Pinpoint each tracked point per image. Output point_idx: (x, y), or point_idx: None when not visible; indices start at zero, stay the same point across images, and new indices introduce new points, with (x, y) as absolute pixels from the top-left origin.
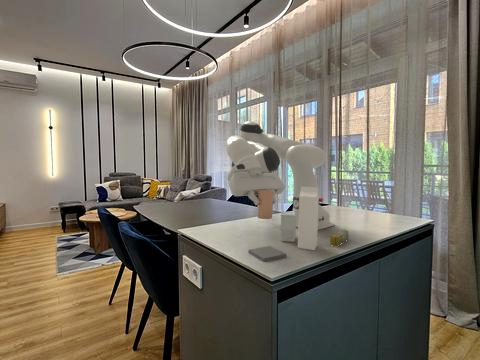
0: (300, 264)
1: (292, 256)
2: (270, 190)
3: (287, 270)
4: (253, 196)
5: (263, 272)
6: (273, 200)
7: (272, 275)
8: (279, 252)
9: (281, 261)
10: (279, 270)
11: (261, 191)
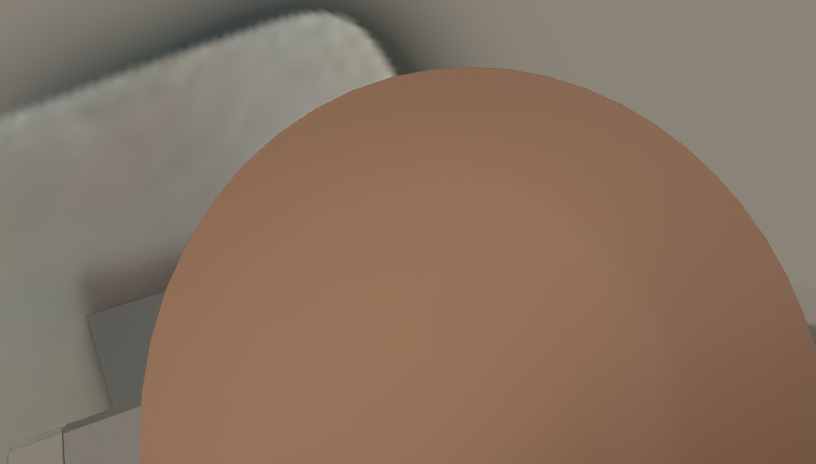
0: (47, 138)
1: (23, 322)
2: (264, 405)
3: (207, 62)
4: (807, 301)
5: (381, 71)
6: (138, 406)
7: (337, 20)
8: (143, 359)
9: (184, 224)
10: (265, 75)
11: (708, 185)
